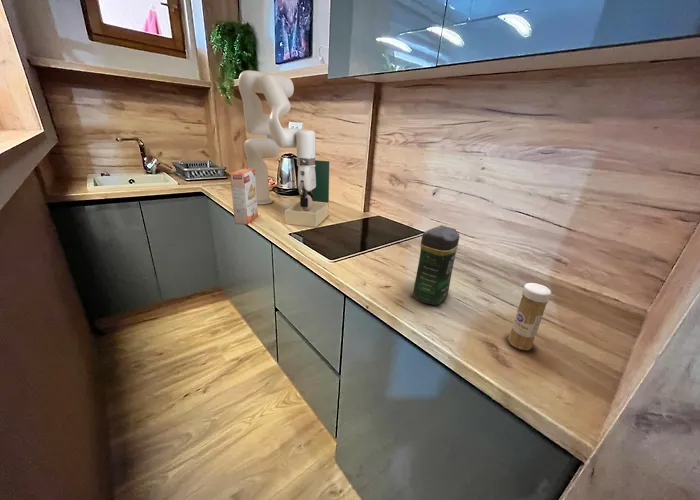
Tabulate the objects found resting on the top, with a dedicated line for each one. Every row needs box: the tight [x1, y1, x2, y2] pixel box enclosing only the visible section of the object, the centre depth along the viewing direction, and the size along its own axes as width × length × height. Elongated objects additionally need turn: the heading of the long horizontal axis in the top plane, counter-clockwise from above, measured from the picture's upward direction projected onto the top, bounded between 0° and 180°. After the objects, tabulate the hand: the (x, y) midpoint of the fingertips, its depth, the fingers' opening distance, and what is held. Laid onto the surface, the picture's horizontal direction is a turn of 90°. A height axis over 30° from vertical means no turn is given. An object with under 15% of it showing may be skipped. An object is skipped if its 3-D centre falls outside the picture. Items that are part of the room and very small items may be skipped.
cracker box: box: [229, 168, 259, 226], centre depth 127 cm, size 14×6×21 cm, turn 179°
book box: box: [284, 201, 329, 228], centre depth 134 cm, size 18×14×6 cm
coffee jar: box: [412, 225, 460, 306], centre depth 76 cm, size 10×8×19 cm
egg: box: [302, 195, 314, 211], centre depth 132 cm, size 5×5×7 cm
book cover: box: [303, 159, 330, 204], centre depth 140 cm, size 18×14×6 cm
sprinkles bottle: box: [507, 282, 552, 351], centre depth 60 cm, size 5×5×14 cm
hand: (306, 204), depth 132 cm, fingers closed on egg, 5 cm apart
